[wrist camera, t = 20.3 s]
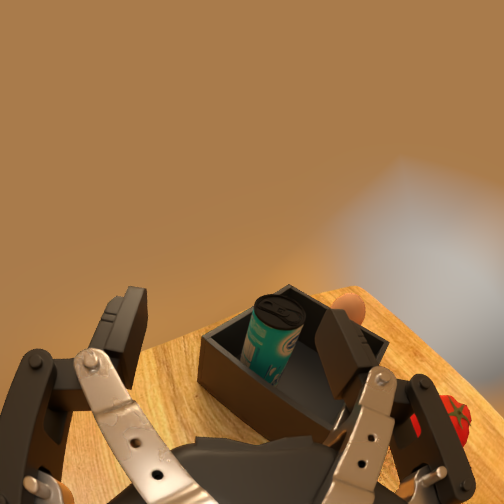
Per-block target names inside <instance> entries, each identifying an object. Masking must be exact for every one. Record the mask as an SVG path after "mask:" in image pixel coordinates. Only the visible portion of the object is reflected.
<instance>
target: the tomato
mask: <svg viewBox="0 0 504 504" xmlns="http://www.w3.org/2000/svg"><path fill="white" fill-rule="evenodd" d="M439 396H440V398H441V400H442V402H443V404H444V406H445V408H446V410H447V412H448V414H449V416H450V419H451V421H452V423H453V425H454V428H455V430H456V432H457V434H458V437H459V439H460V442H461V444H462V446H463V447H464V445H465V444H466V442H467V438H468V435H469V425H470V423H471V415H470V411H469V409H468V407H467V405H465V404H461V403H458V402H457V401H456V400H455V399H454V398H453V397H452V396H450V395H439ZM410 419H411V421H412V424H413V427H414V429H415V432H416V434H417V437H419V436H420V433H421V428H420V425H419V423H418V420H417V418H416V415H415V413H414V414H413V415H412V416H411V417H410ZM470 426H471V425H470Z"/></svg>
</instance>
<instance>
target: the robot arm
mask: <svg viewBox="0 0 504 504" xmlns="http://www.w3.org/2000/svg"><path fill="white" fill-rule="evenodd" d="M147 321H148V311H147V290H146V289H145V288H139V287H133V286H129V287H128V289H127V291H126V293H125V296H124V297H120V296H116V297H114V298H113V299H112V300H111V301H110V302H109V303H108V304H107V306H106V309H105V311H104V313H103V315H102V317H101V321H99V324H98V326H97V328H96V331H95V333H94V335H93V337H92V340H91V342H90V345H89V347H88V348H87V349H84V350H82V351H80V352H79V353H78V354H77V355H76V357H75V358H71V359H52V356H51V355H50V353H49V352H47V351H46V350H43V349H33V350H31V351H29V352H27V353H26V354H25V355H24V356H23V358H22V360H21V362H20V365H19V367H18V370H17V372H16V374H15V377H14V379H13V381H12V384H11V386H10V389H9V392H8V394H7V397H6V400H5V403H4V406H3V409H2V412H1V415H0V504H74V498H73V495H72V493H71V491H70V490H69V489H68V488H67V487H66V486H65V485H64V484H63V483H61V477H62V469H63V462H64V455H65V449H66V443H67V437H68V432H69V427H70V422H71V418H72V413H73V411H92V412H93V415H94V418H95V420H96V422H97V424H98V426H99V428H100V430H101V432H102V434H103V436H104V438H105V439H106V441H107V443H108V445H109V447H110V448H111V450H112V452H113V454H114V455H115V457H116V459H117V460H118V462H119V464H120V465H121V467H122V468H123V470H124V471H125V473H126V475H127V476H128V478H129V479H130V481H131V482H132V483H131V484H130V485H129V486H128V487H127V488H125V489H124V490H123V491H122V492H121V493H120V494H118V495H117V496H116V497H115V498H113V499H112V500H111V501H110V502H108V503H107V504H461V503H463V502H465V501H467V500H469V499H470V498H471V497H472V496H473V494H474V492H475V489H476V482H475V478H474V476H473V473H472V470H471V467H470V464H469V462H468V459H467V457H466V454H465V451H464V449H463V446H462V444H461V442H460V439H459V437H458V434H457V432H456V430H455V428H454V425H453V423H452V421H451V419H450V416H449V414H448V412H447V410H446V408H445V406H444V404H443V402H442V400H441V398H440V396H439V393H438V391H437V390H436V388H435V386H434V384H433V382H432V381H431V379H430V378H428V377H427V376H425V375H423V374H416V375H414V376H413V377H412V378H411V380H410V381H406V380H401V379H396V377H395V375H394V374H393V372H391V371H390V370H389V369H387V368H385V367H382V366H379V364H378V362H377V360H376V358H375V356H374V354H373V352H372V350H371V348H370V346H369V344H367V340H366V339H365V337H364V335H363V333H362V331H361V329H360V327H359V326H358V325H357V324H356V323H355V322H353V321H352V320H350V319H349V317H348V315H347V313H346V312H345V310H343V309H330V308H329V309H327V310H326V312H325V314H324V316H323V318H322V320H321V323H320V325H319V327H318V329H317V331H316V334H315V345H316V348H317V351H318V354H319V356H320V359H321V362H322V365H323V368H324V371H325V374H326V377H327V380H328V383H329V386H330V389H331V392H332V395H333V398H334V400H339V399H344V401H345V403H344V404H343V406H342V408H341V410H340V412H339V414H338V416H337V419H336V421H335V423H334V425H333V427H332V429H331V431H330V433H329V435H328V437H327V439H326V440H325V441H324V442H323V444H320V443H316V442H313V440H312V436H311V435H308V436H297V437H285V438H282V439H278V440H275V441H271V442H268V443H264V444H260V445H253V444H248V443H244V442H239V441H235V440H231V439H227V438H210V437H197V436H196V438H195V443H191V444H186V445H182V446H179V447H176V448H174V449H172V450H169V448H168V447H167V446H166V444H165V443H164V442H163V440H162V439H161V438H160V436H159V435H158V433H157V432H156V431H155V429H154V428H153V426H152V425H151V423H150V422H149V420H148V419H147V417H146V416H145V414H144V413H143V411H142V409H141V408H140V406H139V405H138V404H137V402H136V401H135V400H132V398H131V397H130V395H129V393H128V392H127V390H126V389H130V390H132V385H133V381H134V376H135V372H136V368H137V363H138V359H139V355H140V351H141V347H142V343H143V340H144V336H145V332H146V328H147ZM414 413H415V415H416V418H417V420H418V423H419V425H420V428H421V433H420V436H419V437H417V434H416V432H415V429H414V427H413V424H412V421H411V419H410V417H411V416H412V415H413V414H414ZM388 446H390V449H391V452H392V455H393V459H394V462H395V465H396V469H397V472H398V476H399V479H400V485H399V489H398V490H397V491H396V492H395V493H393V492H392V491H390V490H389V489H387V488H386V487H384V486H383V485H382V484H380V483H379V482H377V480H378V477H379V474H380V471H381V468H382V465H383V462H384V459H385V456H386V453H387V449H388Z"/></svg>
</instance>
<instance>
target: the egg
mask: <svg viewBox="0 0 504 504" xmlns="http://www.w3.org/2000/svg"><path fill="white" fill-rule="evenodd" d="M330 308H331V309H343V310H345V312H346V313H347V315H348V317H349V319H350V320H352V321H354V322H355V323H357V324H359V325H361V324H362V322H363V320H364V318H365V304H364V302H363V300H362V299H361V297H360V296H358V295H357V294H354V293H346V294H344V295H342V296H340V297H339V298H337V299H336V300H335V301H334V302H333V304H332V306H331V307H330Z"/></svg>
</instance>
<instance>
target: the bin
mask: <svg viewBox="0 0 504 504" xmlns="http://www.w3.org/2000/svg"><path fill="white" fill-rule="evenodd" d="M274 294H278V295H283V296H287V297H289V298H291V299H293V300H295V301H296V302H298V303H299V304H300V305H301V306H302V307H303V308H304V310H305V312H306V320H305V322H304V324H303V327H302V329H301V332H300V334H299V337H298V339H297V342H296V344H295V346H294V349H293V351H292V353H291V355H290V358H289V360H288V362H287V364H286V367H285V369H284V371H283V373H282V375H281V377H280V379H279V382H278V384H277V386H276V388H275V387H274V386H273V385H271V384H270V383H268V382H267V381H266V380H264V379H263V378H262V377H260V376H259V375H258V374H256V373H255V372H254V371H252V370H251V369H250V368H248V367H247V366H246V365H244V364H243V363H242V362H241V361H240V358H241V354H242V350H243V346H244V342H245V338H246V334H247V331H248V327H249V323H250V319H251V316H252V312H253V309H254V306H252V307H251V308H249V309H247V310H246V311H244V312H242V313H241V314H239V315H237V316H236V317H234V318H232V319H231V320H229V321H227V322H225V323H224V324H222V325H220V326H219V327H217V328H215V329H213V330H212V331H210V332H208V333H206V334H205V335H203V336H202V337H201V346H200V356H199V366H198V377H197V382H198V383H199V384H200V385H201V386H203V387H204V388H205V389H206V390H207V391H208V392H209V393H210V394H211V395H213V396H214V397H215V398H216V399H217V400H218V401H219V402H221V403H222V404H223V405H224V406H225V407H227V408H228V409H229V410H230V411H231V412H233V413H234V414H235V415H236V416H237V417H239V418H240V419H241V420H242V421H244V422H245V423H246V424H248V425H249V426H250V427H251V428H253V429H254V430H255V431H257V432H258V433H259V434H261V435H262V436H263V437H265V438H266V439H267V440H269V441H270V442H271V441H275V440H278V439H282V438H285V437H297V436H308V435H311V436H312V440H313V442H316V443H320V444H323V442H324V441H325V440H326V439H327V437H328V435H329V433H330V431H331V429H332V427H333V425H334V423H335V421H336V419H337V416H338V414H339V412H340V410H341V408H342V406H343V404H344V403H345V401H344V399H339V400H334V398H333V395H332V392H331V389H330V386H329V383H328V380H327V377H326V374H325V371H324V368H323V365H322V362H321V359H320V356H319V354H318V351H317V348H316V345H315V334H316V331H317V329H318V327H319V325H320V323H321V320H322V318H323V316H324V314H325V312H326V310H327V309H329V307H328V306H326V305H324V304H322V303H321V302H319V301H317V300H316V299H314V298H312V297H310V296H309V295H307V294H305V293H304V292H302V291H300V290H298V289H297V288H295V287H293V286H291V285H290V284H288V285H287V286H285V287H284V288H282V289H280V290H279V291H277V292H275V293H274ZM330 309H331V308H330ZM353 322H354V321H353ZM356 324H357V323H356ZM357 325H358V326H359V327H360V329H361V331H362V333H363V335H364V337H365V339H366V340H367V344H369V346H370V348H371V350H372V352H373V354H374V356H375V358H376V360H377V362H378V364H380V362H381V360H382V357H383V355H384V353H385V351H386V349H387V347H388V345H389V342H388V341H387V340H385V339H383V338H381V337H380V336H378V335H376V334H375V333H373V332H371V331H369V330H368V329H366V328H364V327H362V326H361V325H359V324H357Z"/></svg>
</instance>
